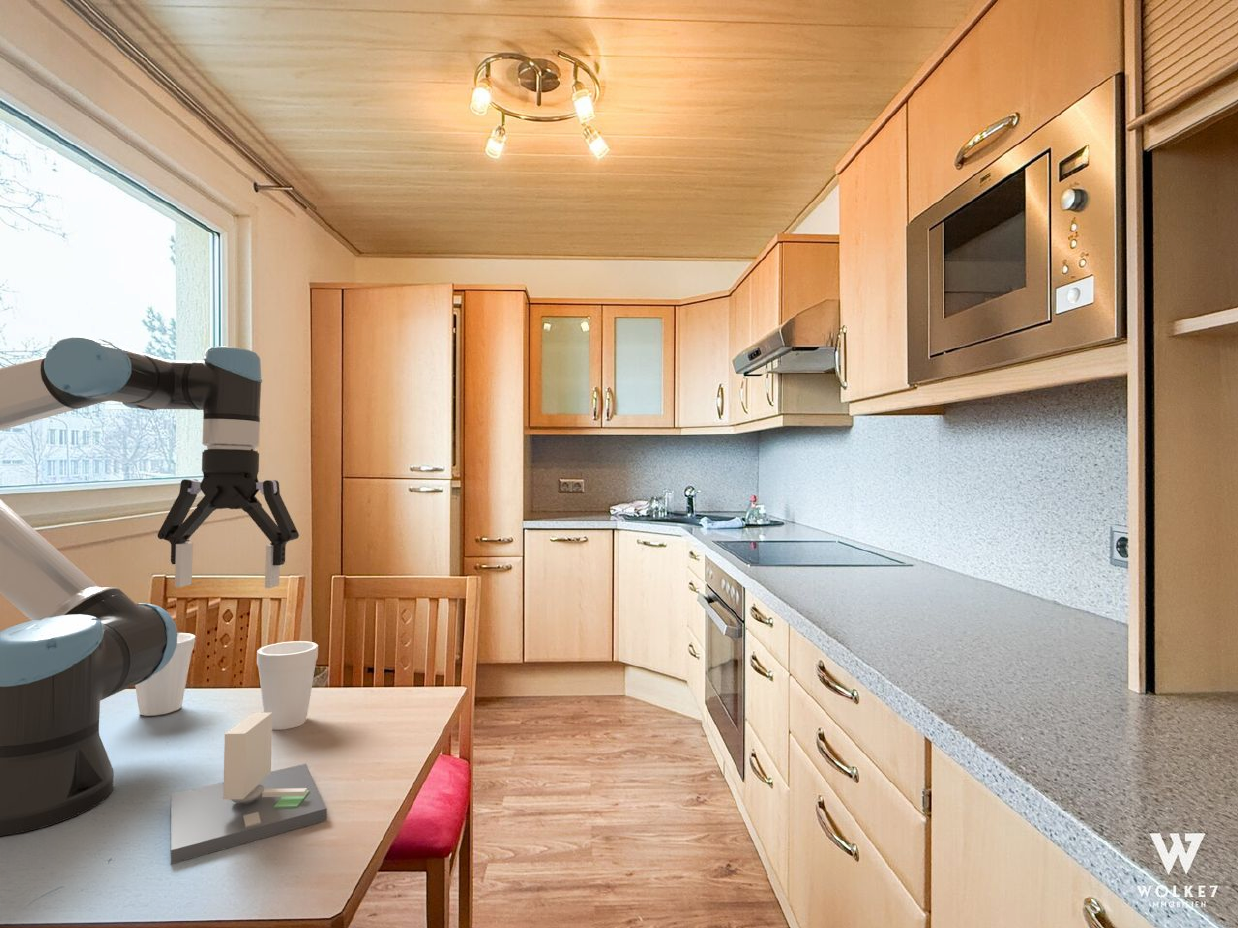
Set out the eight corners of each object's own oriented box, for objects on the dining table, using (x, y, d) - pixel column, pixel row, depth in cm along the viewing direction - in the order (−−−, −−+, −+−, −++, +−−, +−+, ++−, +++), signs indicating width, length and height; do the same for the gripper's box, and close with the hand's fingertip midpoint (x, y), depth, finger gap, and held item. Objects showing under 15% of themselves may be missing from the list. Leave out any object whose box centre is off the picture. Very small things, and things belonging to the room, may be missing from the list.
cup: (168, 722, 110) (170, 647, 110) (111, 721, 110) (113, 646, 110) (206, 702, 120) (208, 633, 120) (154, 701, 120) (156, 632, 120)
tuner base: (170, 863, 70) (171, 848, 70) (170, 805, 83) (171, 792, 83) (326, 820, 80) (326, 806, 80) (305, 773, 92) (306, 762, 92)
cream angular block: (293, 814, 78) (295, 732, 78) (217, 815, 77) (219, 733, 78) (316, 786, 85) (318, 711, 85) (247, 787, 84) (249, 712, 85)
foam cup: (290, 735, 105) (292, 657, 105) (242, 730, 107) (244, 653, 107) (327, 714, 114) (329, 642, 115) (282, 710, 116) (284, 639, 117)
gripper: (323, 450, 102) (320, 582, 101) (167, 448, 101) (163, 581, 101) (300, 448, 94) (297, 591, 94) (131, 446, 94) (127, 589, 93)
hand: (227, 586), depth 97 cm, fingers open, 13 cm apart
